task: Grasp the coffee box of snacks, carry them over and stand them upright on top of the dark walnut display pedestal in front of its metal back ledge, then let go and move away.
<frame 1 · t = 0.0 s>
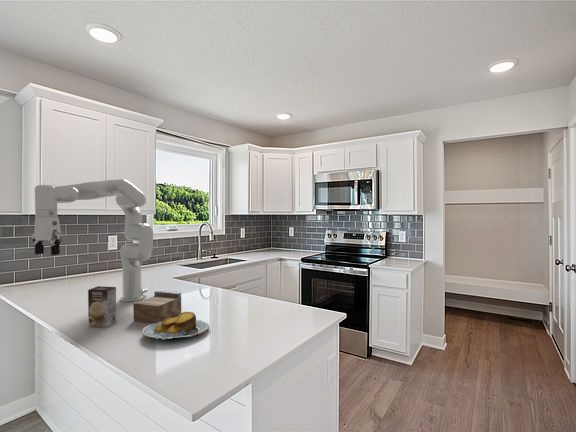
hand: (47, 254, 133), 31 cm above the counter, tool pointing down, fingers open, 9 cm apart
display stand: (158, 317, 144), on the counter
food on plate: (176, 333, 125), on the counter
coffee box: (102, 325, 135), on the counter
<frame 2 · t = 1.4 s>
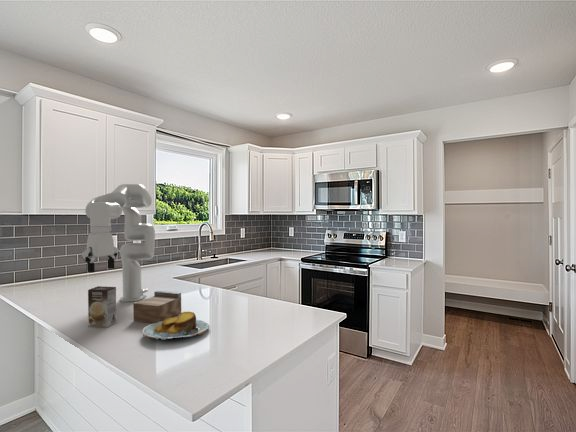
hand: (101, 270, 135), 24 cm above the counter, tool pointing down, fingers open, 9 cm apart
nothing on the counter moved.
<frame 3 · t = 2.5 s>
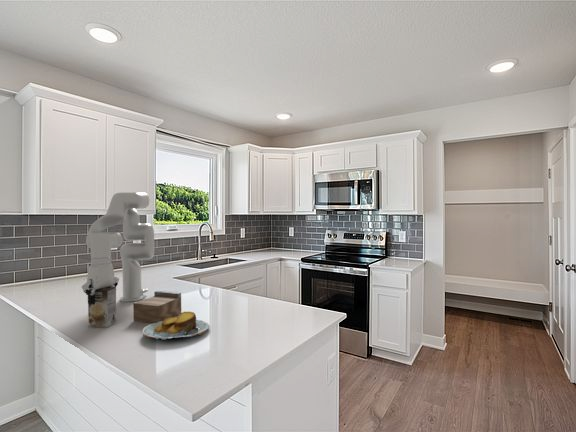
hand: (101, 301, 135), 10 cm above the counter, tool pointing down, fingers open, 9 cm apart
nothing on the counter moved.
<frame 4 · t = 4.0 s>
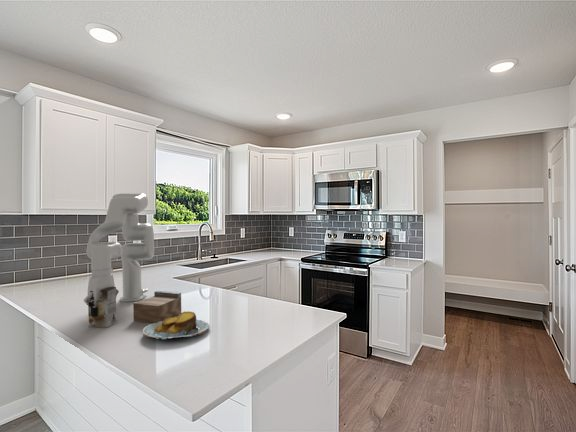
hand: (102, 313, 135), 5 cm above the counter, tool pointing down, fingers closed on coffee box, 7 cm apart
coffee box: (102, 325, 135), on the counter, touching gripper
everything else where it was.
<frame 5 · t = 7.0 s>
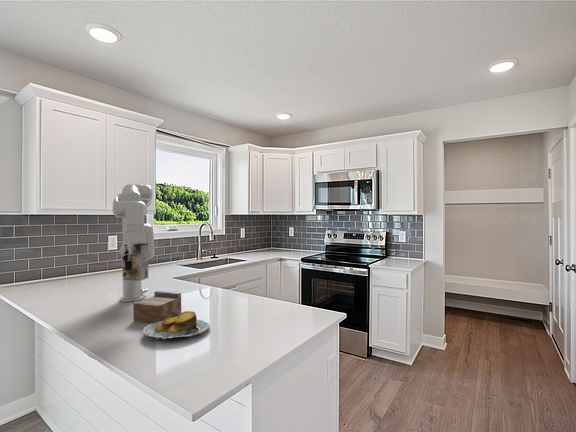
hand: (135, 268, 140), 24 cm above the counter, tool pointing down, fingers closed on coffee box, 7 cm apart
coffee box: (135, 279, 140), point 18 cm above the counter, touching gripper
everything else where it was.
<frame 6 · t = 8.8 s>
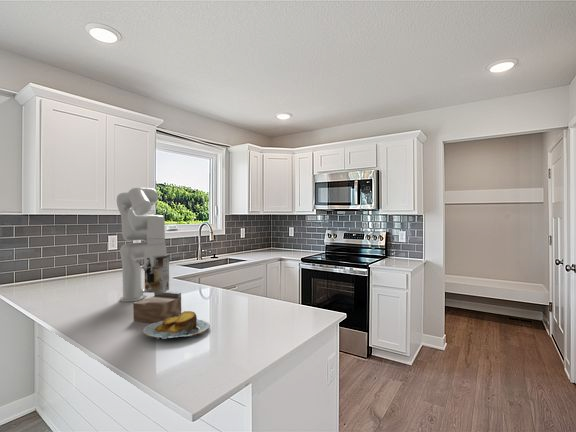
hand: (156, 280, 144), 17 cm above the counter, tool pointing down, fingers closed on coffee box, 7 cm apart
coffee box: (157, 291, 144), point 12 cm above the counter, touching gripper
everything else where it was.
when the fingers open (14 cm above the counter, at t = 10.3 s): coffee box drops 1 cm, resting on display stand.
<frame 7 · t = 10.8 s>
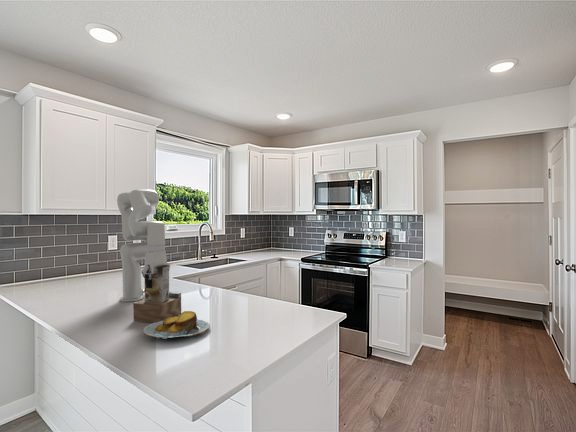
hand: (156, 285, 144), 15 cm above the counter, tool pointing down, fingers open, 9 cm apart
coffee box: (157, 300, 144), point 8 cm above the counter, touching display stand
everything else where it was.
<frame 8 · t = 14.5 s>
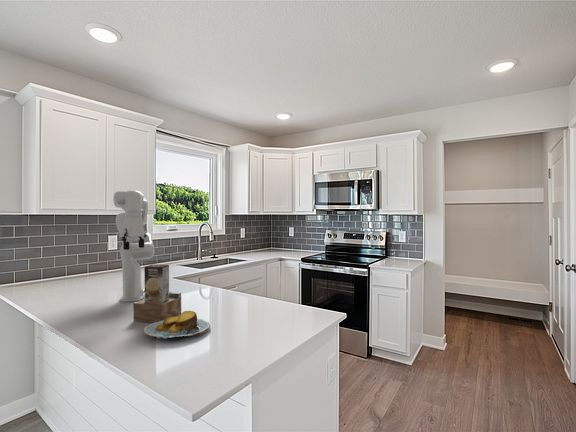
hand: (134, 248, 160), 30 cm above the counter, tool pointing down, fingers open, 9 cm apart
at the end: coffee box inside the target area on the display stand (0.2 cm from its centre), point 7.8 cm above the display stand's base; coffee box tilted 0°; the gripper is holding nothing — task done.
